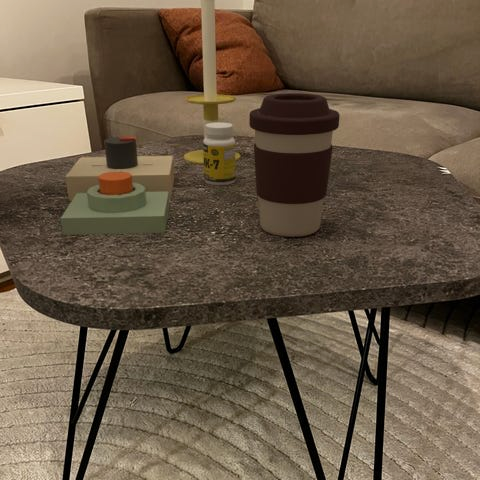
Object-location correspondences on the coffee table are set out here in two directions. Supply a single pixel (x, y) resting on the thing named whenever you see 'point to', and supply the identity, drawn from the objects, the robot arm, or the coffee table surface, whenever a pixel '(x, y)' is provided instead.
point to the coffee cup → (292, 161)
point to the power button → (115, 183)
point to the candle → (208, 78)
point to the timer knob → (121, 152)
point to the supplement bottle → (219, 154)
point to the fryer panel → (145, 173)
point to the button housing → (116, 212)
